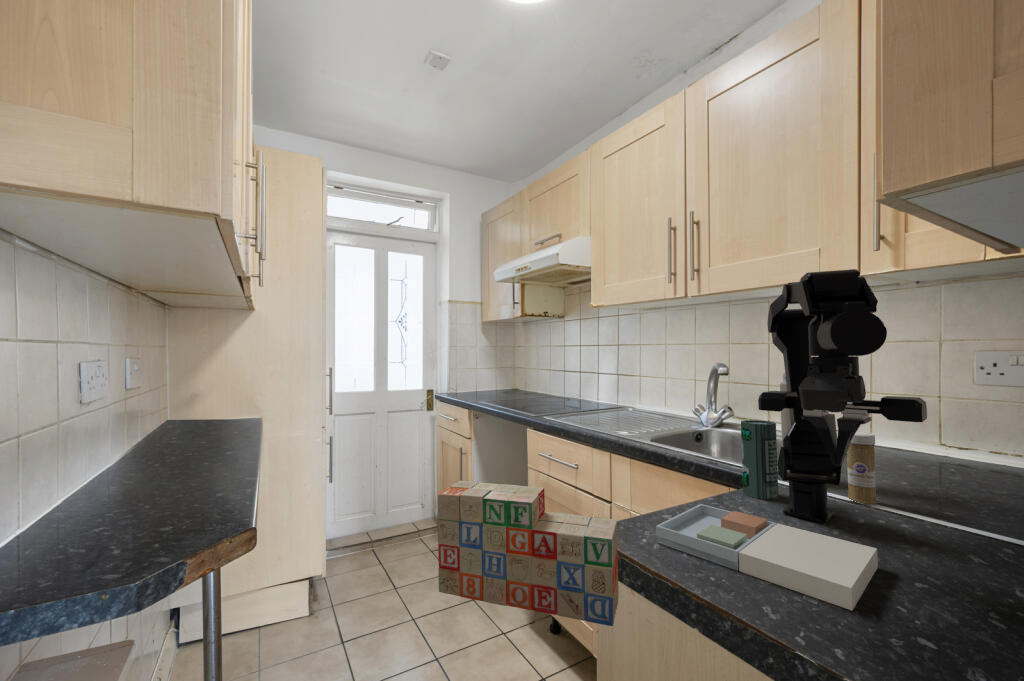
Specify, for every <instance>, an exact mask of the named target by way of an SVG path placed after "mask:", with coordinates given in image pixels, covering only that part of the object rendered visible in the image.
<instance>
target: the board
mask: <svg viewBox="0 0 1024 681" xmlns="http://www.w3.org/2000/svg"><path fill="white" fill-rule="evenodd" d="M878 565H879V561H878V548H877V547H872V546H869V545H864V544H862V543H861V544H860V543H858V542H857V543H856V542H853V541H849V540H845V539H841V538H838V537H833V536H829V535H824V534H821V533H817V532H812V531H809V530H804V529H801V528H798V527H794V526H789V525H785V524H782V523H776V525H775V526H773V527H772V528H771V529H769V530H768V531H767V532H765V533H764V534H763V535H761V536H760V537H759V538H757V539H756V540H755V541H753V542H752V543H751V544H749V545H748V546H747V547H745V548H744V549H743V550H741V551H740V552H739V570H738V571H739V572H741V573H743V574H746V575H749V576H752V577H755V578H758V579H760V580H763V581H766V582H769V583H772V584H774V585H778V586H781V587H783V588H786V589H789V590H792V591H795V592H797V593H800V594H802V595H806V596H808V597H812V598H815V599H818V600H820V601H823V602H826V603H829V604H833V605H834V606H836V607H837V606H838V607H840V608H843V609H846V610H850V611H854V608H856V605H857V603H858V602H859V600H860V599H861V597H862V595H863V594H864V592H865V590H866V588H867V587H868V584H869V583H870V581H871V580H872V578H873V577H874V575H875V573H876V571H877V569H878V567H879V566H878Z"/></svg>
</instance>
